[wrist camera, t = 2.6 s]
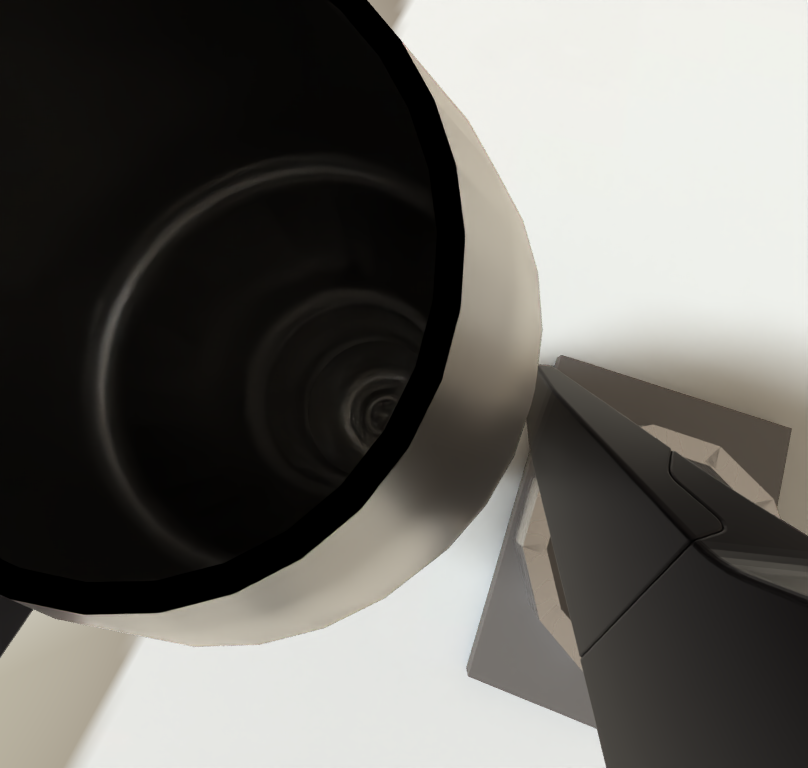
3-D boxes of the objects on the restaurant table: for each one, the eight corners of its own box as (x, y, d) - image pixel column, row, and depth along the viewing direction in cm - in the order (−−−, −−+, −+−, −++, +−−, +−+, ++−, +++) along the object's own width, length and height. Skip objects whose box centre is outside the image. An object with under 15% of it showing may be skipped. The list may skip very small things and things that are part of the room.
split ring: (732, 720, 16) (767, 751, 14) (487, 624, 17) (495, 643, 15) (778, 474, 17) (814, 477, 16) (553, 399, 18) (565, 395, 17)
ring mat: (714, 768, 16) (725, 781, 15) (466, 668, 17) (468, 676, 16) (779, 429, 18) (791, 428, 18) (557, 357, 19) (561, 355, 19)
